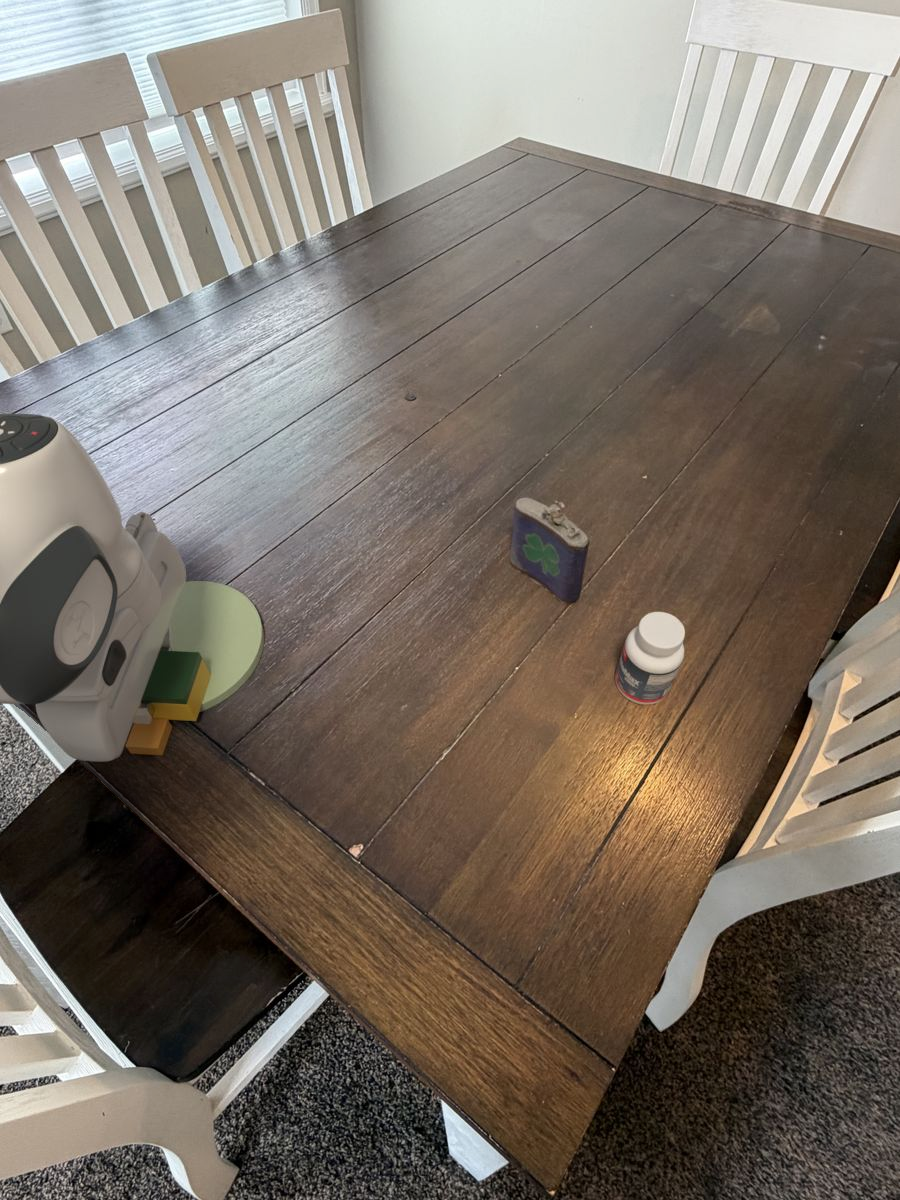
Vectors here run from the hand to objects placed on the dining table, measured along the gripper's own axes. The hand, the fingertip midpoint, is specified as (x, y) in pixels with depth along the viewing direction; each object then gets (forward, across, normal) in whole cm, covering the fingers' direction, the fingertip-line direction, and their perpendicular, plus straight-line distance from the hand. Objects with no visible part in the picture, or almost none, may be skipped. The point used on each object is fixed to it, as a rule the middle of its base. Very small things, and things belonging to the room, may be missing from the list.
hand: (155, 687), depth 68 cm
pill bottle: (+3, -5, +46) cm, 46 cm away
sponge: (+2, 0, 0) cm, 2 cm away
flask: (+3, -18, +36) cm, 41 cm away
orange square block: (+3, +4, 0) cm, 5 cm away
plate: (+3, -6, 0) cm, 7 cm away
